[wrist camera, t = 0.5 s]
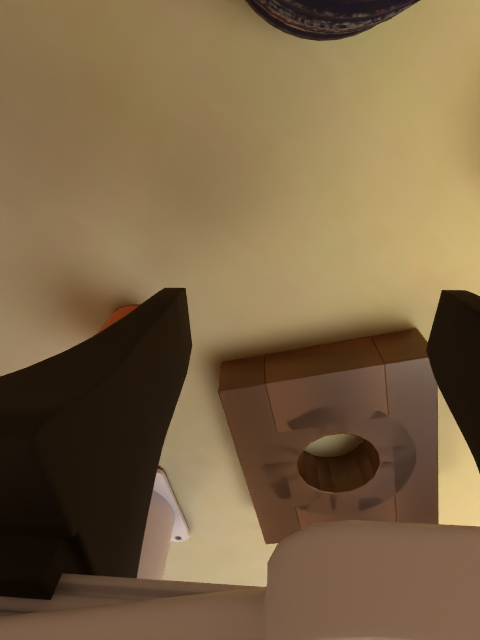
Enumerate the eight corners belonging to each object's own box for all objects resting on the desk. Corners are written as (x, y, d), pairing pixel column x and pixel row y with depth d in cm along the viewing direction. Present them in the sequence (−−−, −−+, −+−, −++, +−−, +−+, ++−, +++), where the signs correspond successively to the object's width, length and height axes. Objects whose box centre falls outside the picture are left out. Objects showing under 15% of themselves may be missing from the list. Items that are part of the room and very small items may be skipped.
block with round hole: (264, 508, 32) (265, 544, 29) (221, 362, 25) (217, 391, 23) (422, 489, 30) (438, 525, 27) (417, 328, 24) (437, 355, 21)
